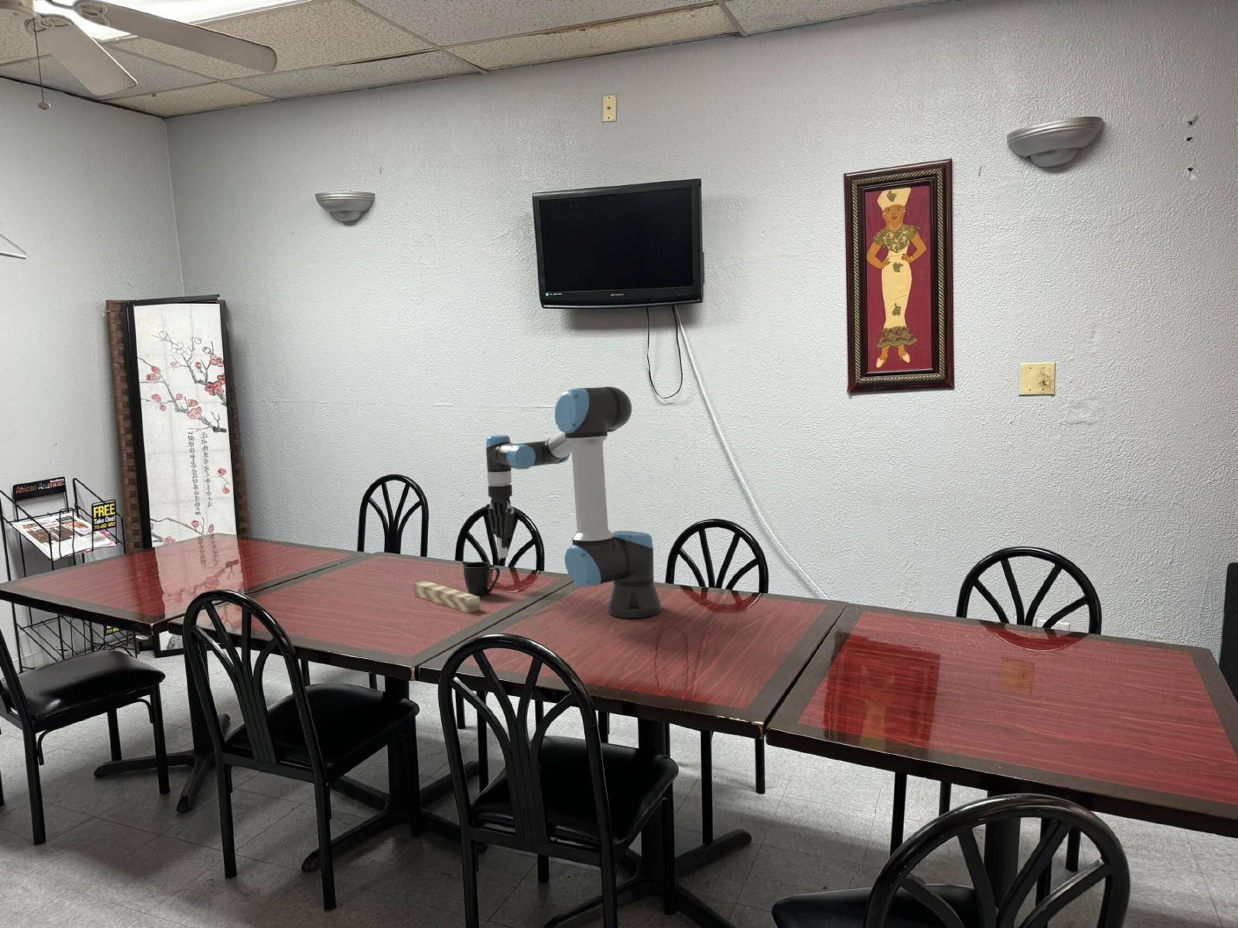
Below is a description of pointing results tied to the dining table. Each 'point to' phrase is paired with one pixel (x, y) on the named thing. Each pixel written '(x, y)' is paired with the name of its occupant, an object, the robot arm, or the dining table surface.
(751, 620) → the dining table surface
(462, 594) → the wooden bar
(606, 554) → the robot arm
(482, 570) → the mug
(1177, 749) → the dining table surface
